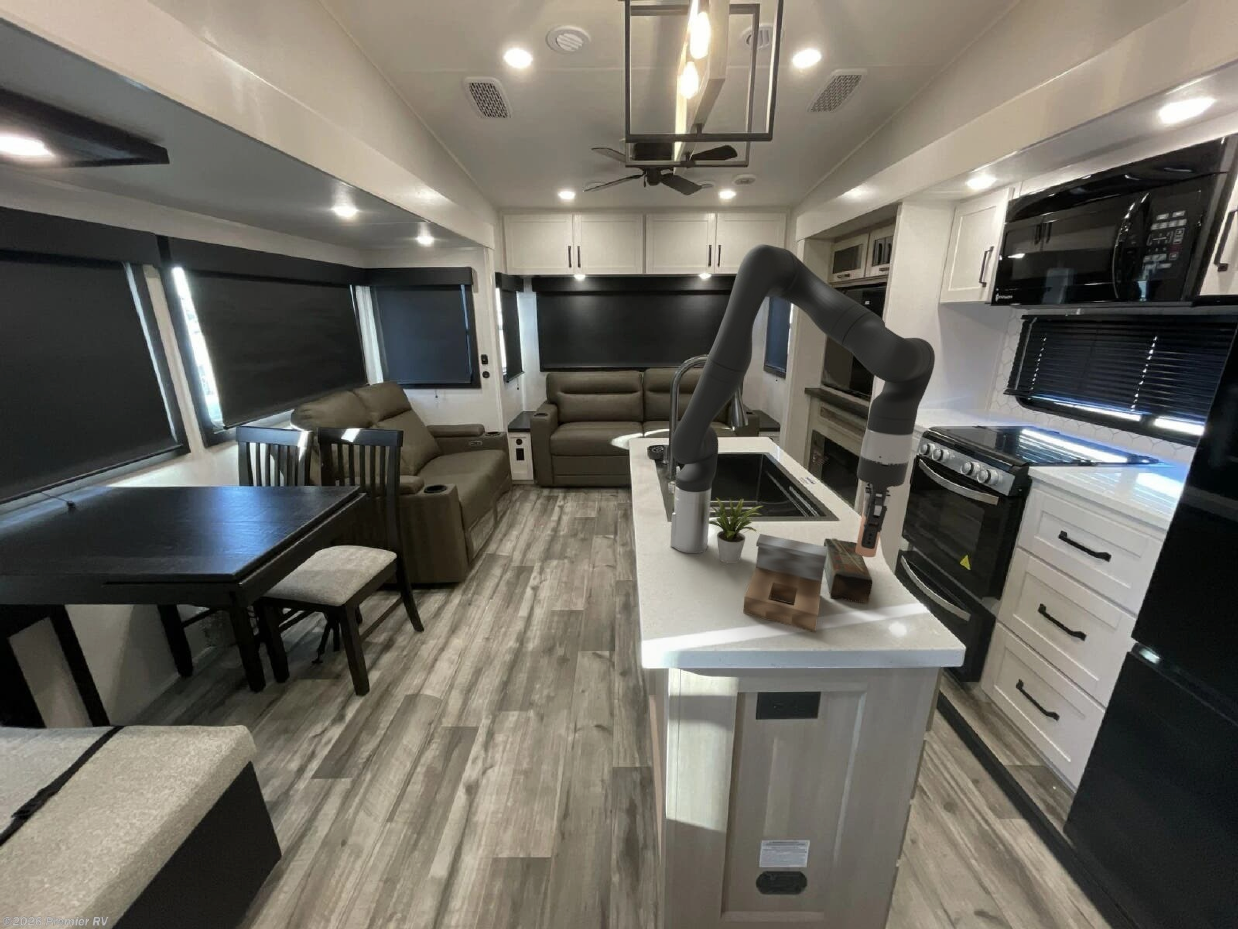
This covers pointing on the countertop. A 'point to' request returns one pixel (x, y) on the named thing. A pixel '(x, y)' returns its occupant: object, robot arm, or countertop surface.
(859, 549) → the peg
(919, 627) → the countertop surface
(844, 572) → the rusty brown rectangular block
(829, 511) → the countertop surface
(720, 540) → the house plant
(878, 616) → the countertop surface
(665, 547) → the countertop surface
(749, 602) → the socket station
